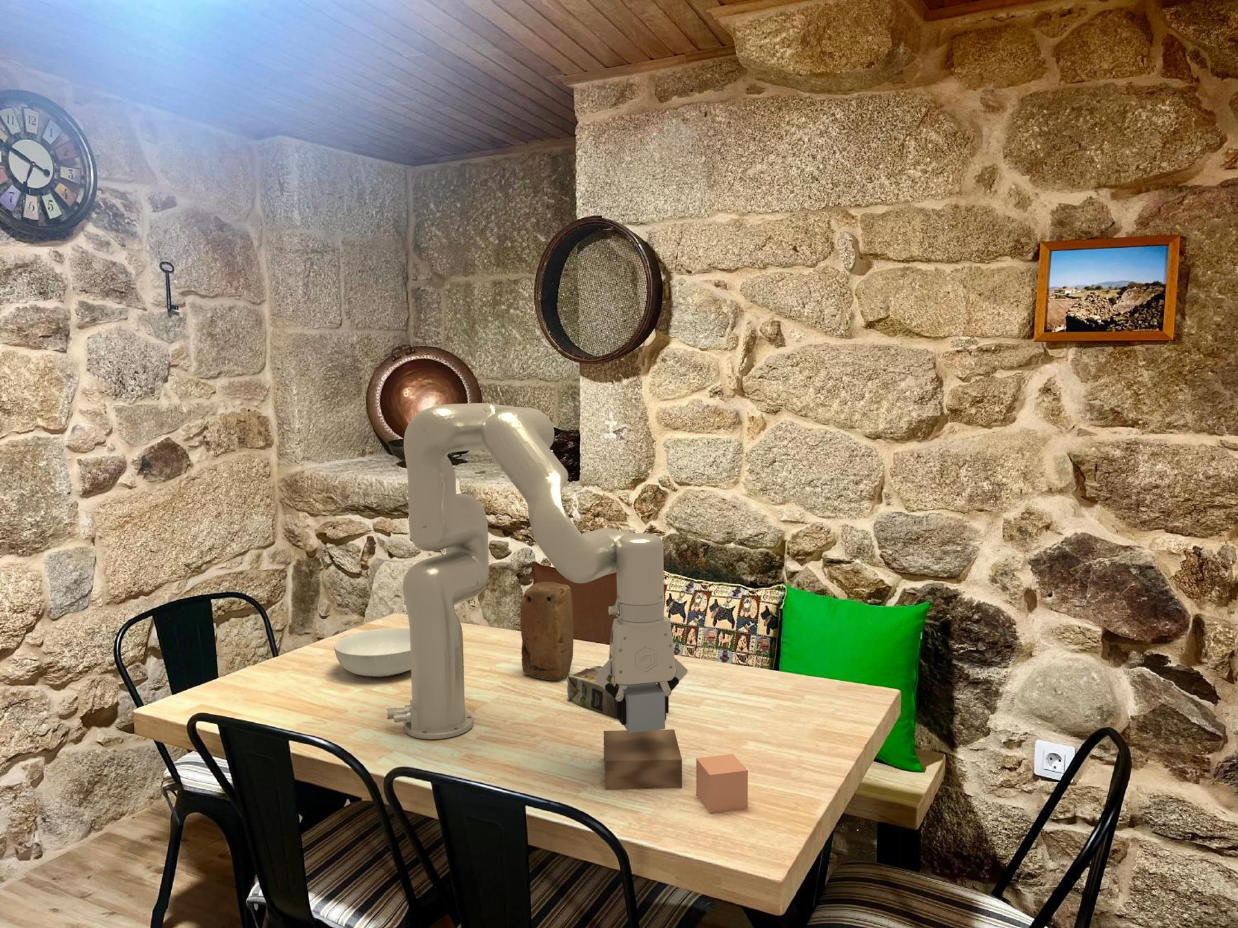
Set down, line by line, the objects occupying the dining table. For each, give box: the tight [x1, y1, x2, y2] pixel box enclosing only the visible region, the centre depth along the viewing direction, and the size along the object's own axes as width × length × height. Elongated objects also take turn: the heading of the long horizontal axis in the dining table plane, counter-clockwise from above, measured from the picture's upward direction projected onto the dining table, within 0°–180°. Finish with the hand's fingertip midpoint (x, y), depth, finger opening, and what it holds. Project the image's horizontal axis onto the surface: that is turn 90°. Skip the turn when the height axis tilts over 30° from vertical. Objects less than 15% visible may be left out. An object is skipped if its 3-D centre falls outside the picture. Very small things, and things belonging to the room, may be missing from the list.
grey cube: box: [623, 683, 666, 733], centre depth 145 cm, size 6×6×6 cm
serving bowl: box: [333, 627, 411, 678], centre depth 198 cm, size 21×21×7 cm
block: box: [519, 581, 574, 681], centre depth 193 cm, size 11×8×20 cm
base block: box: [603, 728, 683, 791], centre depth 146 cm, size 12×12×5 cm
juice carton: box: [566, 665, 616, 719], centre depth 176 cm, size 20×10×6 cm, turn 46°
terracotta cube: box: [695, 753, 749, 814], centre depth 136 cm, size 6×6×6 cm
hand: (641, 718), depth 146 cm, fingers closed on grey cube, 6 cm apart
